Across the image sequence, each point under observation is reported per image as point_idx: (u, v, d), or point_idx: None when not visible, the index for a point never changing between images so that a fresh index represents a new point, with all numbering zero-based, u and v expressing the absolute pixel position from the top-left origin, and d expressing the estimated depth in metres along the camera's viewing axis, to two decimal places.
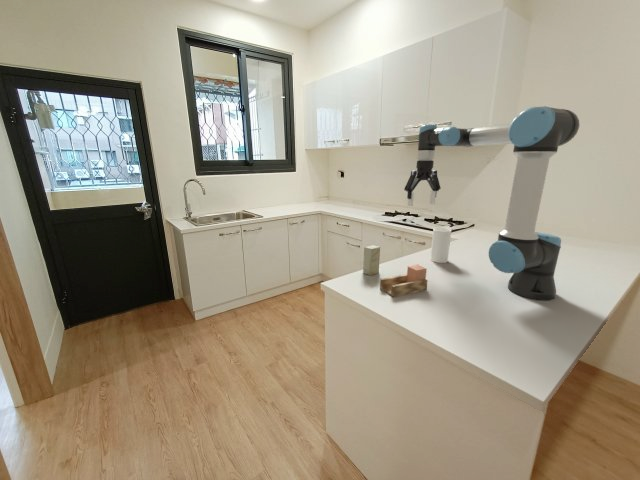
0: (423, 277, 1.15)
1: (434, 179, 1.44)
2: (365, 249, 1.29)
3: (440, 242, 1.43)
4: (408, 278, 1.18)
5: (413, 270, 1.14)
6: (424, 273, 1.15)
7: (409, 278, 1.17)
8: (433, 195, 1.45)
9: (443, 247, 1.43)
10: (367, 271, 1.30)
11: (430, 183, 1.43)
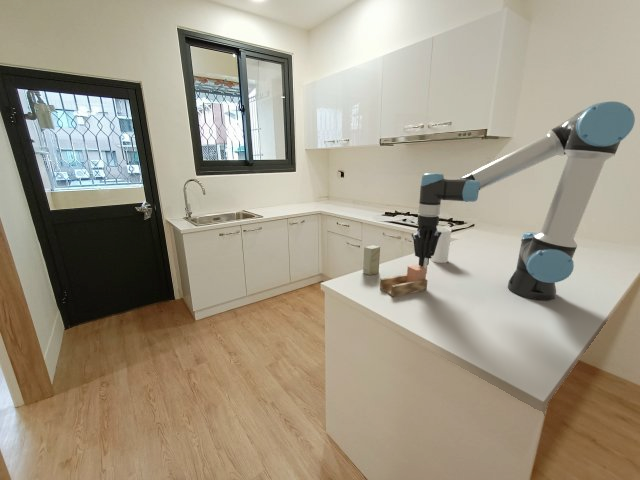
0: (423, 277, 1.15)
1: (433, 241, 1.16)
2: (365, 249, 1.29)
3: (440, 242, 1.43)
4: (408, 278, 1.17)
5: (413, 270, 1.14)
6: (424, 273, 1.15)
7: (409, 278, 1.17)
8: None
9: (443, 247, 1.43)
10: (367, 271, 1.30)
11: (427, 245, 1.15)
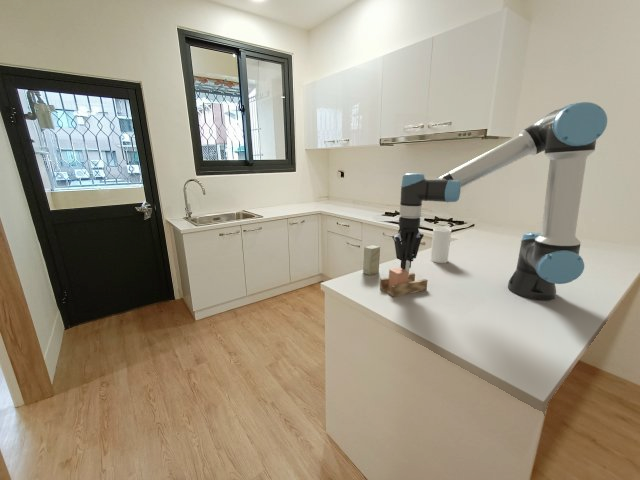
0: (405, 280, 1.12)
1: (415, 243, 1.13)
2: (365, 249, 1.29)
3: (440, 242, 1.43)
4: (390, 281, 1.14)
5: (394, 273, 1.11)
6: (406, 276, 1.11)
7: (391, 281, 1.14)
8: None
9: (443, 247, 1.43)
10: (367, 271, 1.30)
11: (409, 247, 1.12)
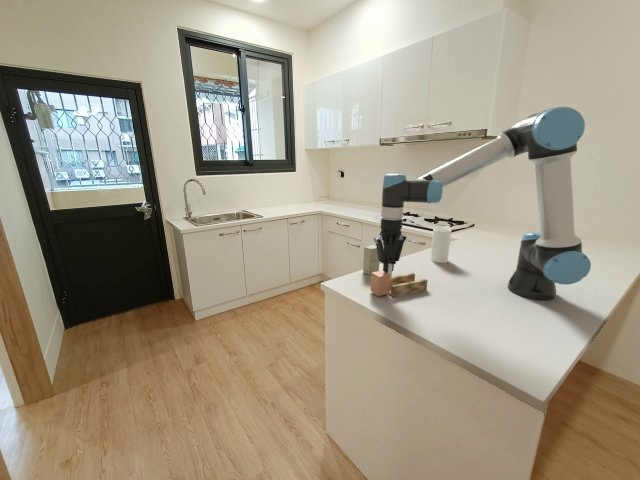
0: (387, 284, 1.09)
1: (398, 245, 1.09)
2: (365, 249, 1.29)
3: (440, 242, 1.43)
4: (372, 285, 1.11)
5: (376, 277, 1.08)
6: (388, 280, 1.08)
7: (373, 285, 1.10)
8: None
9: (443, 247, 1.43)
10: (367, 271, 1.30)
11: (391, 249, 1.08)
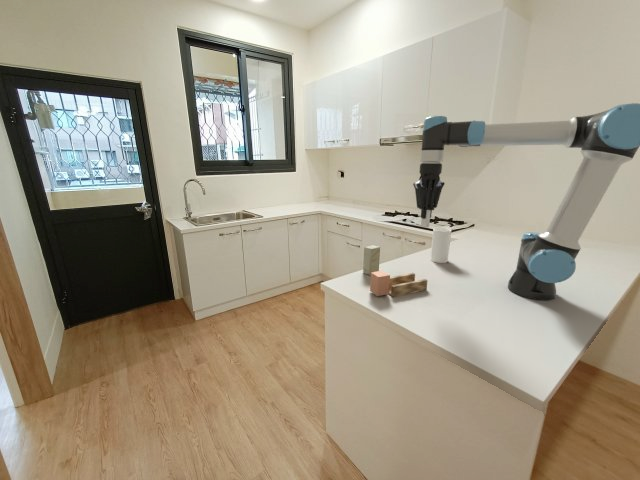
0: (386, 284, 1.09)
1: (436, 192, 1.10)
2: (365, 249, 1.29)
3: (440, 242, 1.43)
4: (371, 285, 1.11)
5: (376, 277, 1.08)
6: (387, 280, 1.08)
7: (372, 285, 1.10)
8: None
9: (443, 247, 1.43)
10: (367, 271, 1.30)
11: (429, 195, 1.09)
